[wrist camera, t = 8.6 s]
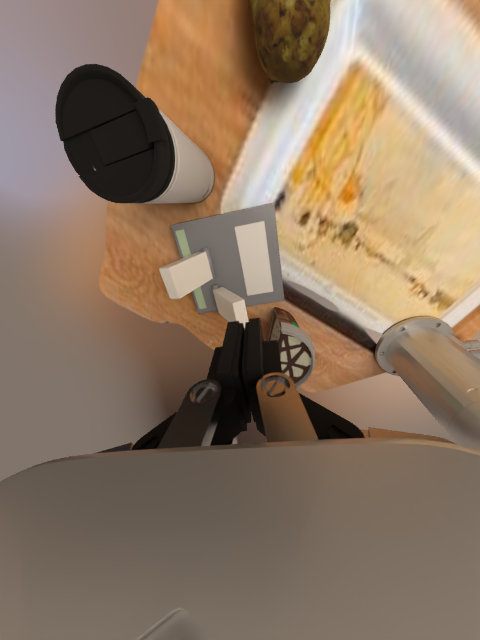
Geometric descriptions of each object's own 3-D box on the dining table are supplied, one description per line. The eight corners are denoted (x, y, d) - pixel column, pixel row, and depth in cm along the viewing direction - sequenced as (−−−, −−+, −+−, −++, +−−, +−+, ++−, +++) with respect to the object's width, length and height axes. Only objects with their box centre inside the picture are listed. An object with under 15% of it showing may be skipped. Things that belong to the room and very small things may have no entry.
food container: (295, 360, 43) (306, 400, 34) (264, 356, 43) (267, 396, 34) (311, 303, 37) (329, 334, 28) (275, 299, 37) (282, 329, 28)
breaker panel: (272, 203, 30) (274, 203, 28) (282, 293, 37) (284, 300, 34) (177, 223, 32) (170, 225, 30) (202, 305, 39) (198, 313, 36)
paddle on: (211, 246, 30) (167, 265, 24) (218, 276, 32) (180, 301, 26) (202, 247, 31) (157, 265, 25) (210, 277, 33) (170, 300, 27)
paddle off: (218, 282, 33) (243, 296, 26) (224, 308, 35) (249, 327, 28) (208, 286, 33) (231, 301, 26) (215, 311, 35) (238, 332, 28)
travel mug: (223, 194, 30) (180, 185, 13) (179, 208, 31) (84, 216, 14) (209, 139, 27) (128, 28, 10) (161, 156, 29) (13, 83, 11)
